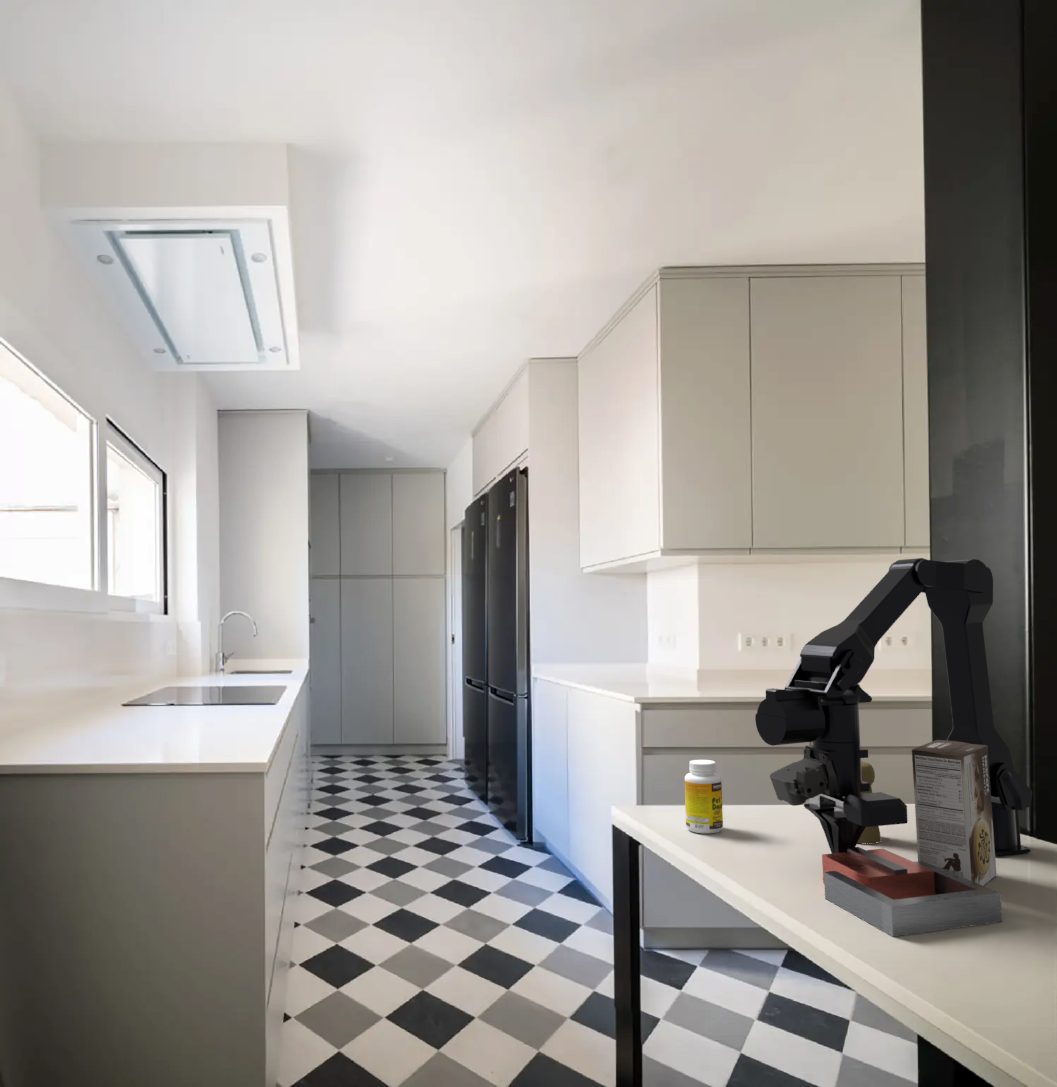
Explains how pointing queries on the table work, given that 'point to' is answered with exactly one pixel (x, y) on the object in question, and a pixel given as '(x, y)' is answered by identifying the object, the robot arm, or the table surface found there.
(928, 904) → the tray
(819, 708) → the robot arm
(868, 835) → the olive tapered upright piece
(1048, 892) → the table surface
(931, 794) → the coffee box
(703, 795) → the supplement bottle
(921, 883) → the block
